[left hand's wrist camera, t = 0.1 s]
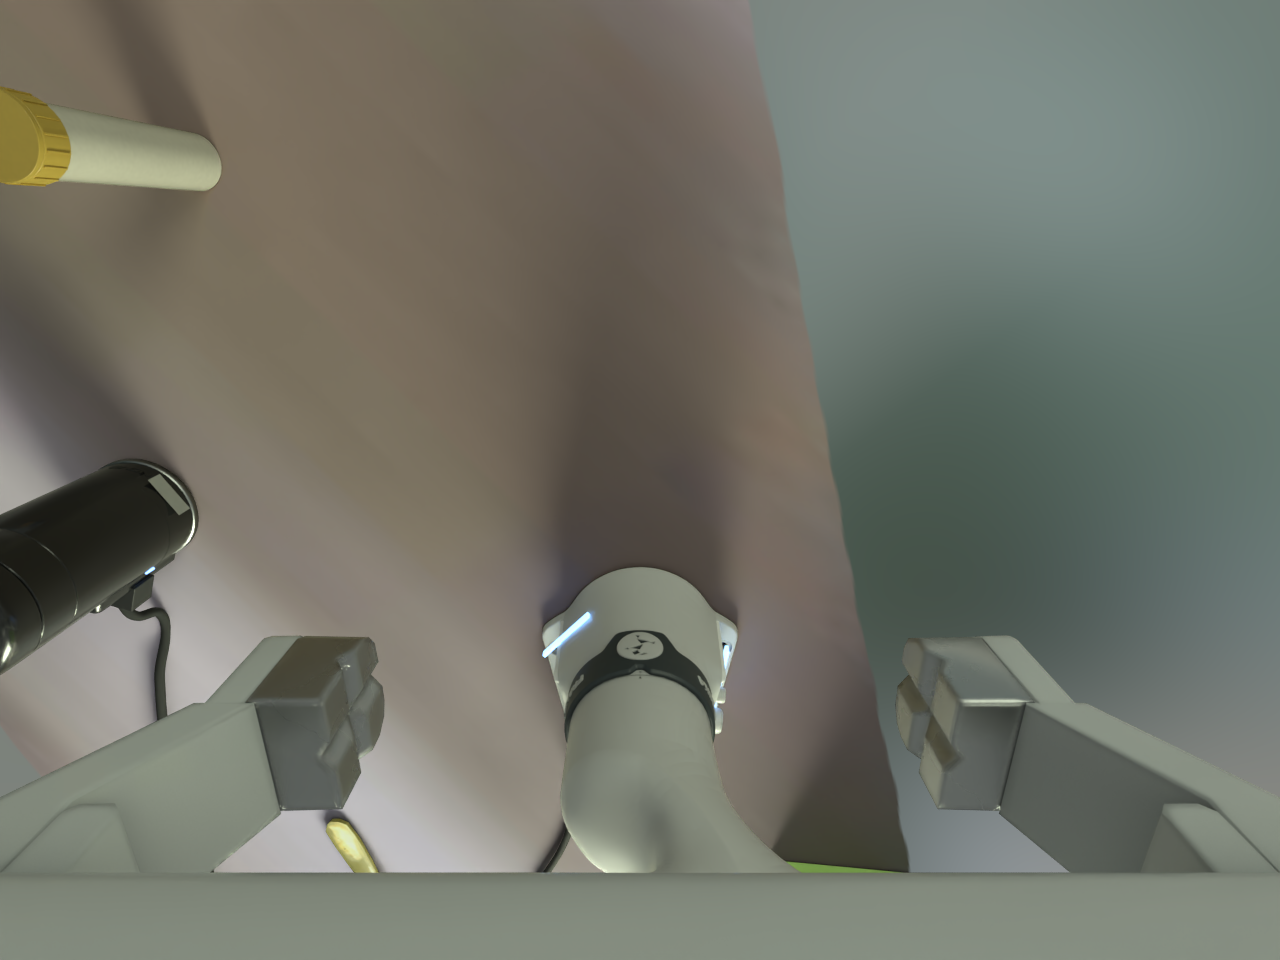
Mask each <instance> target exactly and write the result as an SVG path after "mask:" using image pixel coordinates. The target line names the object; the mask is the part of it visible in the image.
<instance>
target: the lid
mask: <svg viewBox="0 0 1280 960" xmlns="http://www.w3.org/2000/svg"><path fill="white" fill-rule="evenodd" d="M70 159H71V145H70V140H69V136H68V134H67V131H66V129H65V127H64V125H63V123H62V122H61V119H60V118H59V117H58V116H57V115H56V114H55V112H54V111H53V110H52V109H51V108H50V107H49V106H48V105H47V104H46V103H44V102H42V101H41V100H39V99H38V98H36V97H34V96H32V94H30V93H26V92H21V91H17V90H14V89H10V88H5V87H0V182H1V183H4V184H12V185H29V186H30V185H32V186H46V184H50V183H53V182H55V181H59V179H60V178H61V177H62V176H63V175H64V174H65V172H66V171H67V170H68V167H69V164H70Z"/></svg>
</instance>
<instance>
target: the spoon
mask: <svg viewBox="0 0 1280 960" xmlns="http://www.w3.org/2000/svg"><path fill="white" fill-rule="evenodd" d="M326 833H327V834H328V836H329V837H330V839H331V841H332V842H333V844H334V845H335V847H336V848H337V850H338V851H339V853H340V854H341V855H342V857H343V858H344V859H345V861H346V862H347V864H348V865H349V866H350V868H351V869H352V870H353V872H354V873H379V872H378V870H377V868H376V866H375V864H374V862H373V860H372V858H371V856H370V854H369V853H368V851H367V849H366V847H365V846H364V844H363V842H362V840H361V838H360V837H359V836H358V834H357V833H356V832H355V830H354V829H353V828H352V827H351V825H350V824H349V823H348V822H347V821H344V820H342V819H332V820H331V821H330V822H329V823H328V825H327V828H326Z"/></svg>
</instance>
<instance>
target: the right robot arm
mask: <svg viewBox="0 0 1280 960" xmlns="http://www.w3.org/2000/svg"><path fill="white" fill-rule="evenodd" d="M197 527H198V510H197V506H196V503H195V501H194V498H193V496H192V495H191V493H190V491H189V490H188V488H187V487H186V486H185V485H184V483H183V482H182V481H181V480H180V479H179V478H178V477H176V476H175V475H174V474H173V473H171V472H170V471H168V470H167V469H165V468H163V467H162V466H159V465H157V464H155V463H152V462H149V461H145V460H140V459H123V460H118V461H115V462H113V463H110V464H108V465H106V466H104V467H102V468H101V469H99V470H98V471H96V472H94V473H91V474H89V475H87V476H85V477H82V478H80V479H78V480H75V481H73V482H71V483H69V484H67V485H64V486H62V487H60V488H58V489H56V490H53V491H51V492H49V493H47V494H45V495H43V496H40V497H38V498H36V499H34V500H32V501H29V502H27V503H25V504H23V505H21V506H18V507H16V508H14V509H12V510H10V511H7V512H5V513H3V514H1V515H0V675H1V674H3V673H5V672H6V671H8V670H9V669H11V668H12V667H14V666H15V665H16V664H18V663H19V662H21V661H22V660H23V659H25V658H26V657H28V656H29V655H30V654H32V653H33V652H35V651H36V650H37V649H39V648H40V647H42V646H43V645H45V644H46V643H47V642H49V641H50V640H52V639H53V638H54V637H56V636H57V635H59V634H60V633H61V632H63V631H64V630H65V629H67V628H68V627H70V626H71V625H72V624H74V623H75V622H77V621H78V620H80V619H81V618H82V617H84V616H85V615H87V614H88V613H89V612H90V613H100V612H102V611H103V610H105V609H106V608H108V607H109V606H110V605H111V606H114V607H117V608H119V610H120V611H121V612H122V613H123V615H124V616H126V617H127V618H129V619H131V620H136V621H142V620H146V619H149V618H151V617H154V616H156V617H157V618H158V620H159V621H160V625H161V639H160V644H159V649H158V654H157V659H156V665H155V673H154V680H155V698H156V711H157V720H160V719H162V718H164V717H167V707H166V692H165V666H166V660H167V655H168V650H169V644H170V627H171V626H170V619H169V616H168V615H167V613H166V612H165V611H164V610H163V609H162V608H157V607H155V608H150V609H147V610H144V611H141V612H138V611H136V610H135V609H136V608H137V607H139V606H140V605H141V604H142V603H144V602H145V601H146V600H148V599H149V598H150V597H151V593H152V586H153V579H154V575H153V574H155V573H156V572H157V571H159V570H160V569H162V568H163V567H164V566H166V565H167V564H169V563H170V562H171V561H173V560H174V557H175V553H176V552H178V551H179V550H181V549H182V548H184V547H185V546H186V545H187V544H188V543H189V542H190V541H191V540H192V539H193V537H194V535H195V533H196V531H197ZM210 873H214V871H213V870H212V871H211V872H210Z"/></svg>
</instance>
